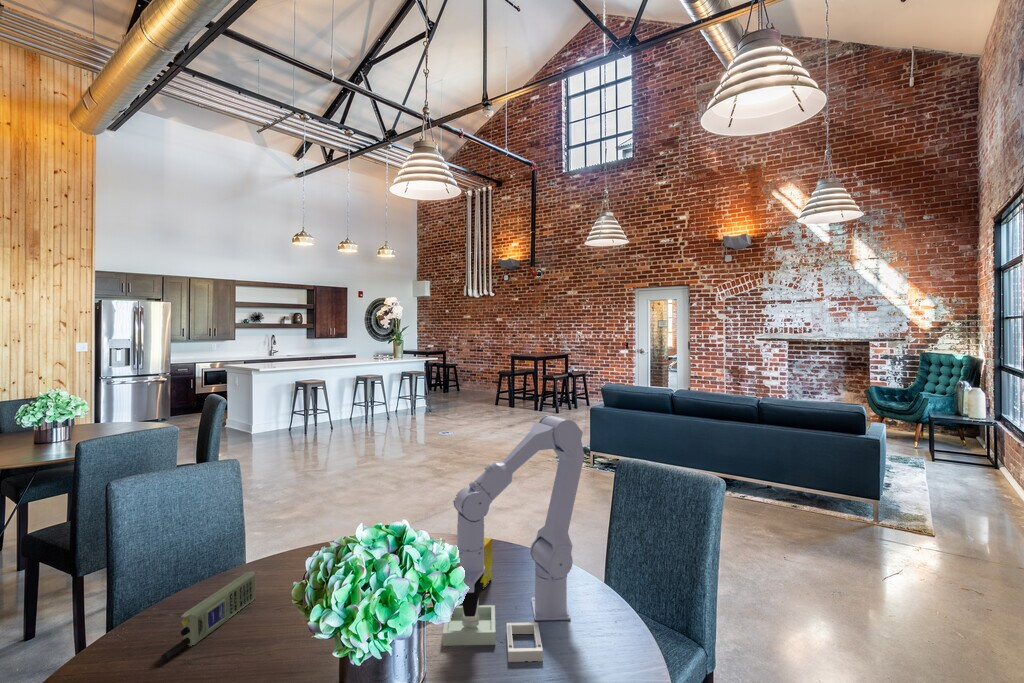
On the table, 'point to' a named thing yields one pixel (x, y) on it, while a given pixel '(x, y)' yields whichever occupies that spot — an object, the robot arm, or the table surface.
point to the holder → (524, 653)
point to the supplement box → (487, 561)
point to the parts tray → (470, 636)
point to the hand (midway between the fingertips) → (470, 610)
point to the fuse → (471, 619)
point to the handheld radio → (215, 611)
